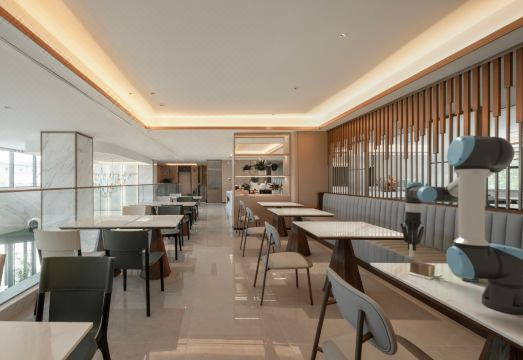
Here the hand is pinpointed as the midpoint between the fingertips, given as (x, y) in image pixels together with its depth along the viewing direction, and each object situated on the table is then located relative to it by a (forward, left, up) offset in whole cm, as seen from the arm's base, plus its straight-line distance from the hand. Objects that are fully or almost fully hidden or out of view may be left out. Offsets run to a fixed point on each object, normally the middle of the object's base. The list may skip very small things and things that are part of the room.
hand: (411, 256), depth 171 cm
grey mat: (0, -7, -8) cm, 11 cm away
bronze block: (0, -1, -5) cm, 5 cm away
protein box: (+15, -22, -8) cm, 27 cm away
